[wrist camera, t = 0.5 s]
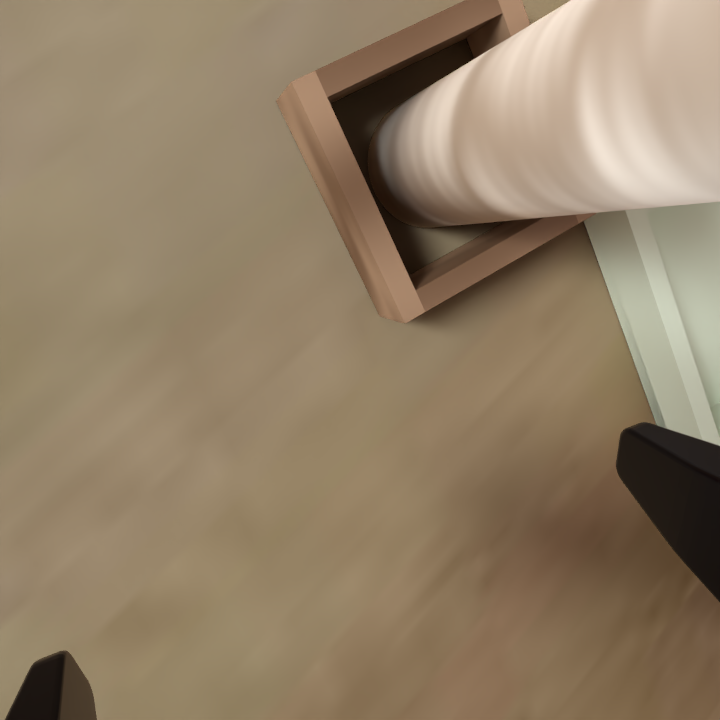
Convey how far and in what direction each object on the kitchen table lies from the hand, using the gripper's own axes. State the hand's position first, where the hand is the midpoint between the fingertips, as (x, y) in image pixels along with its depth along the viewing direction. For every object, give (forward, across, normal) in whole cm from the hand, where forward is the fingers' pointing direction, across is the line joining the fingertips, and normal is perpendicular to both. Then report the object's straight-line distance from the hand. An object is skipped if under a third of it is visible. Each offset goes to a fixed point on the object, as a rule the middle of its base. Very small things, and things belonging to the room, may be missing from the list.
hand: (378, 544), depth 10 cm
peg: (+14, -8, -1) cm, 17 cm away
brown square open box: (+14, -8, -1) cm, 17 cm away
